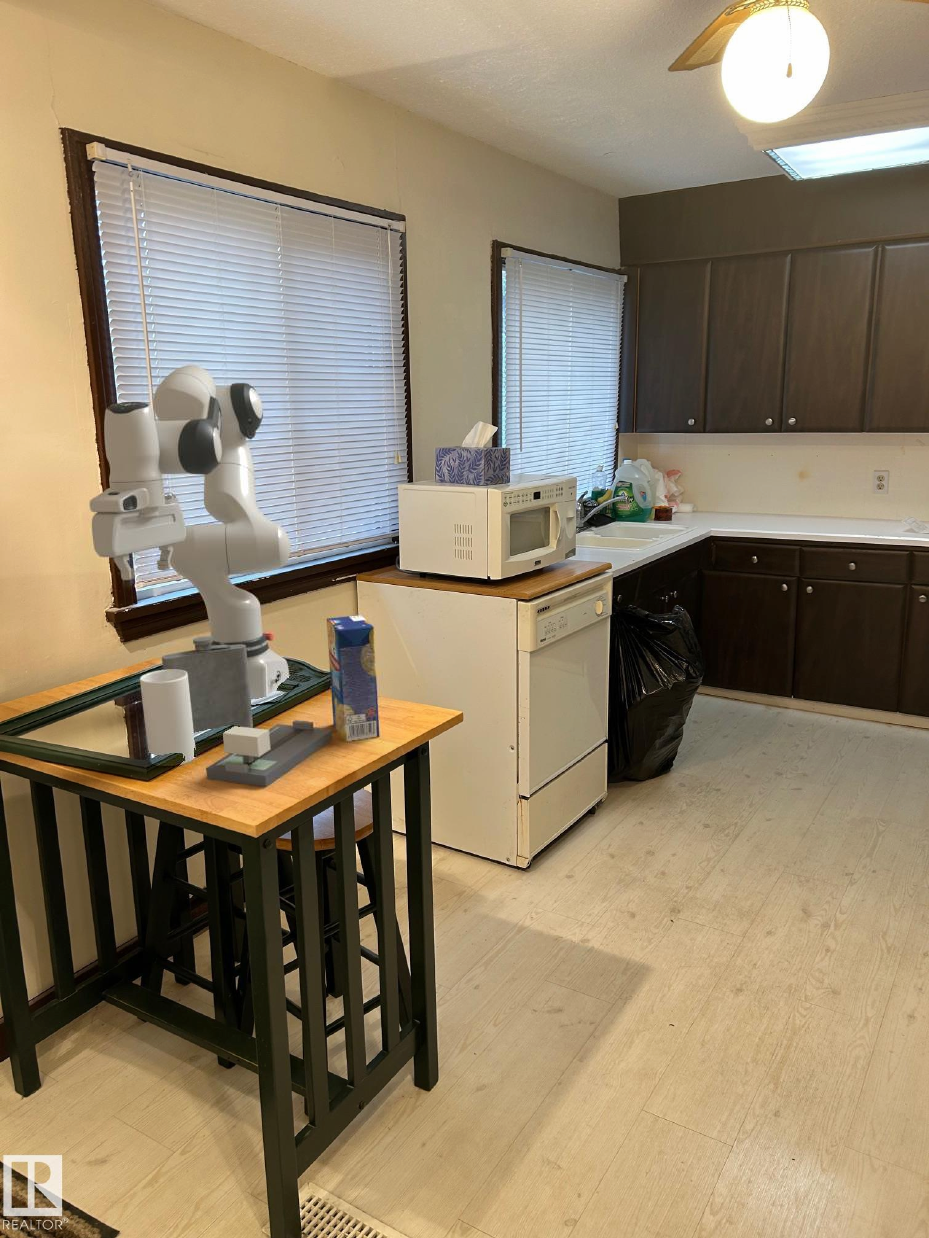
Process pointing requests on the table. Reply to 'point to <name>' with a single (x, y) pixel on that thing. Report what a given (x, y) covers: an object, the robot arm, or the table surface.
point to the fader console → (272, 755)
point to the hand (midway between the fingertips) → (146, 574)
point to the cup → (168, 713)
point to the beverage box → (353, 677)
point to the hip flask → (215, 683)
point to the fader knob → (246, 742)
